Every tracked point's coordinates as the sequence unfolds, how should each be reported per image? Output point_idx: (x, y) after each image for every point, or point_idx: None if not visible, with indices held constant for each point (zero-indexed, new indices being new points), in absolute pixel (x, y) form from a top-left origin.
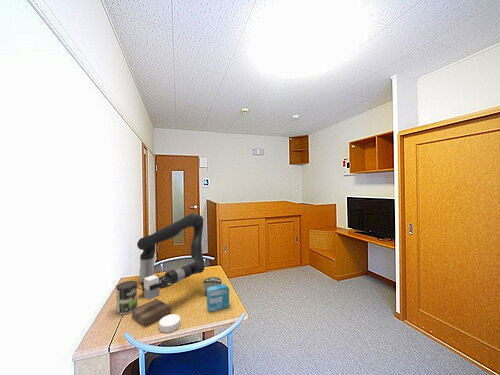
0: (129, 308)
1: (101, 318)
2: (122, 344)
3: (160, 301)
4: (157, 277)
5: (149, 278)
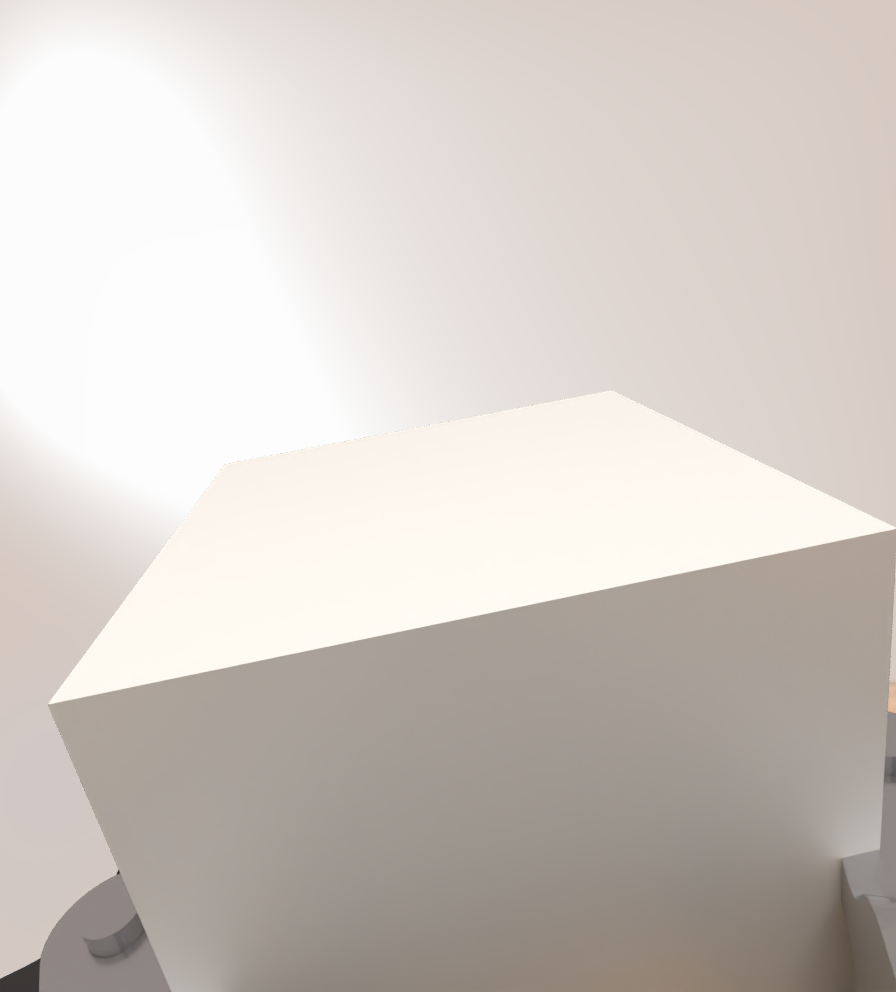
0: None
1: (892, 705)
2: None
3: None
4: (135, 643)
5: (429, 459)
